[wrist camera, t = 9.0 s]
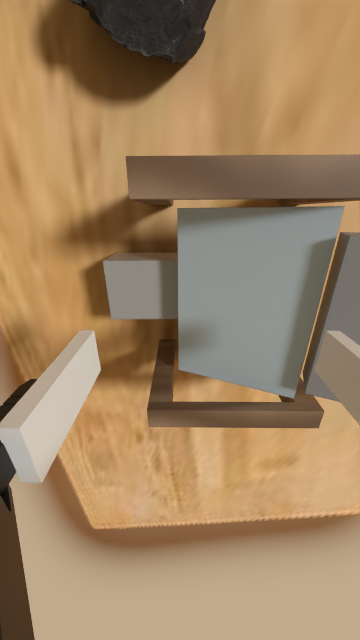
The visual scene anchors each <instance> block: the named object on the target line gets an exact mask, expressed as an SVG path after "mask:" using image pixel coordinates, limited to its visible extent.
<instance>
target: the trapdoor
mask: <svg viewBox="0 0 360 640" xmlns="http://www.w3.org/2000/svg"><path fill="white" fill-rule="evenodd" d="M344 207H345V206H326V207H239V208H177V213H178V348H179V370H182V371H186V372H190V373H194V374H198V375H202V376H206V377H210V378H214V379H218V380H222V381H226V382H230V383H234V384H238V385H242V386H246V387H250V388H254V389H258V390H262V391H266V392H269V393H273V394H277V395H281V396H285V397H289V398H293V399H294V397H295V393H296V389H297V385H298V381H299V378H300V374H301V370H302V366H303V362H304V359H305V355H306V351H307V347H308V343H309V340H310V336H311V332H312V328H313V324H314V321H315V317H316V313H317V309H318V305H319V302H320V298H321V294H322V290H323V287H324V283H325V279H326V275H327V271H328V268H329V264H330V260H331V256H332V252H333V249H334V245H335V241H336V237H337V233H338V230H339V226H340V222H341V218H342V214H343V211H344ZM326 331H341V332H342V333H344V334H345V335H346V336H347V337H349V338H350V339H351V340H353V341H354V342H355V343H357V344H358V345H359V346H360V233H349V232H340V235H339V239H338V243H337V246H336V250H335V254H334V258H333V261H332V265H331V269H330V273H329V276H328V280H327V284H326V287H325V291H324V295H323V299H322V302H321V306H320V310H319V314H318V317H317V321H316V325H315V329H314V332H313V336H312V340H311V343H310V347H309V351H308V355H307V358H306V362H305V366H304V370H303V378H304V388H305V394H309V395H313V396H317V397H322V398H326V399H330V400H334V401H338V402H340V401H339V400H338V398H337V397H336V396H335V395H334V394H333V392H332V391H331V390H330V389H329V388H328V386H327V385H326V384H325V383H324V382H323V380H322V379H321V378H320V377H319V376H318V374H317V373H316V372H315V371H314V370H315V367H316V364H317V360H318V357H319V353H320V350H321V347H322V343H323V340H324V336H325V333H326Z"/></svg>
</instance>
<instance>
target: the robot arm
mask: <svg viewBox="0 0 360 640" xmlns="http://www.w3.org/2000/svg"><path fill="white" fill-rule="evenodd" d="M100 371H101V367H100V362H99V356H98V350H97V345H96V339H95V334H94V330H80V331H79V333H78V334H77V335H76V336H75V337H74V338H73V339H72V341H71V342H70V343H69V344H68V345H67V346H66V347H65V349H64V350H63V351H62V352H61V353H60V354H59V355H58V357H57V358H56V359H55V360H54V361H53V362H52V363H51V365H50V366H49V367H48V368H47V369H46V370H45V372H44V373H43V374H42V375H41V376H40V377H39V378H38V379H30V380H29V381H27V382H26V383H24V384H22V385H21V386H19V387H18V388H17V389H16V390H15V392H14V393H13V394H12V395H11V397H10V398H8V399H7V400H6V401H5V402H4V403H3V405H2V406H0V640H35V639H34V634H33V627H32V620H31V613H30V607H29V601H28V594H27V588H26V582H25V575H24V568H23V562H22V555H21V549H20V542H19V536H18V529H17V523H16V516H15V511H14V504H13V497H12V491H11V488H10V486H9V483H10V481H11V480H12V478H13V476H14V475H15V473H16V474H17V476H18V478H19V480H20V482H21V483H42V482H43V480H44V478H45V476H46V474H47V472H48V470H49V468H50V466H51V465H52V462H53V461H54V459H55V457H56V455H57V453H58V451H59V449H60V447H61V445H62V444H63V442H64V440H65V438H66V436H67V434H68V432H69V430H70V428H71V426H72V424H73V422H74V421H75V419H76V417H77V415H78V413H79V411H80V409H81V407H82V405H83V403H84V401H85V399H86V398H87V396H88V394H89V392H90V390H91V388H92V386H93V384H94V382H95V380H96V378H97V377H98V375H99V373H100ZM314 371H315V372H316V373H317V374H318V376H319V377H320V378H321V379H322V380H323V382H324V383H325V384H326V385H327V386H328V388H329V389H330V390H331V391H332V392H333V394H334V395H335V396H336V397H337V398H338V400H339V401H340V402H341V403H342V404H343V406H344V407H345V408H346V409H347V410H348V412H349V413H350V414H351V415H352V416H353V418H354V419H355V420H356V421H357V423H358V424H359V425H360V346H359V345H358V344H357V343H355V342H354V341H353V340H351V339H350V338H349V337H347V336H346V335H345V334H344V333H342V332H341V331H326V333H325V336H324V340H323V343H322V347H321V350H320V353H319V357H318V360H317V364H316V367H315V370H314Z"/></svg>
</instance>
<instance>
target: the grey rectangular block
mask: <svg viewBox="0 0 360 640" xmlns="http://www.w3.org/2000/svg"><path fill="white" fill-rule="evenodd" d="M103 266H104V273H105V280H106V287H107V294H108V300H109V307H110V314H111V319H178V252H143V253H115V254H113V255H112V256H110V257H108V258H107V259H105V260H103Z"/></svg>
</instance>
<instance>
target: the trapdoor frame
mask: <svg viewBox="0 0 360 640" xmlns="http://www.w3.org/2000/svg"><path fill="white" fill-rule="evenodd" d="M126 166H127V178H128V190H129V199H132V200H135V201H139V202H143V203H147V204H151V205H173V200H199V199H281V202H280V205H300V204H315V203H329V202H343V201H357V200H360V155H235V156H126ZM174 365H175V340H160V342H159V348H158V353H157V359H156V364H155V370H154V375H153V381H152V386H151V392H150V397H149V403H148V408H147V415H148V426H149V427H220V428H319V425H320V422H321V419H322V417H323V414H324V410H323V409H322V407H321V406H320V405H319V403H318V402H317V400H316V399H315V398H314V396H313V395H309V394H305V388H304V382H303V381H302V379H301V378H299V381H298V385H297V389H296V393H295V397H294V399H293V398H289V397H285V396H281V395H279V397H280V399H281V401H282V402H172V401H173V383H174Z"/></svg>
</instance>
